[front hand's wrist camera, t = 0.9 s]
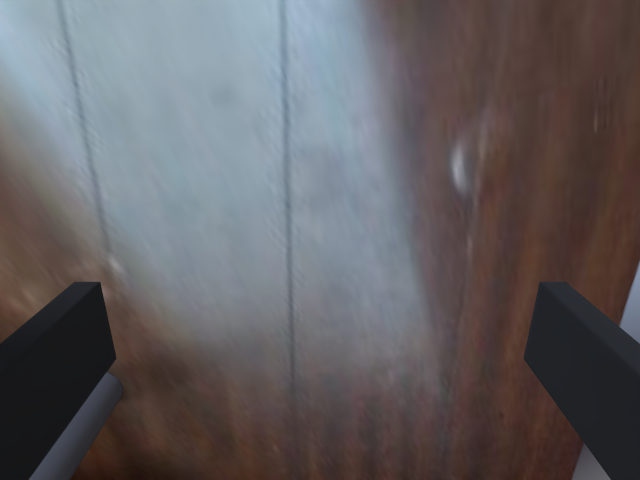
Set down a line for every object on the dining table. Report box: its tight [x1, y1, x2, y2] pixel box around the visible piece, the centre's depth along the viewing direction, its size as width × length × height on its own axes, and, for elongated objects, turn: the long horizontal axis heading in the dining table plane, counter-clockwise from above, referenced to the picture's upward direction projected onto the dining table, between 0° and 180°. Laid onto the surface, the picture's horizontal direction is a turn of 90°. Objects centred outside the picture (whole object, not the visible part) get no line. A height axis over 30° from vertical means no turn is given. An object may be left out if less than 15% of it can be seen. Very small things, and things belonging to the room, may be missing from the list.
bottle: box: [29, 372, 123, 480], centre depth 40 cm, size 5×5×18 cm
